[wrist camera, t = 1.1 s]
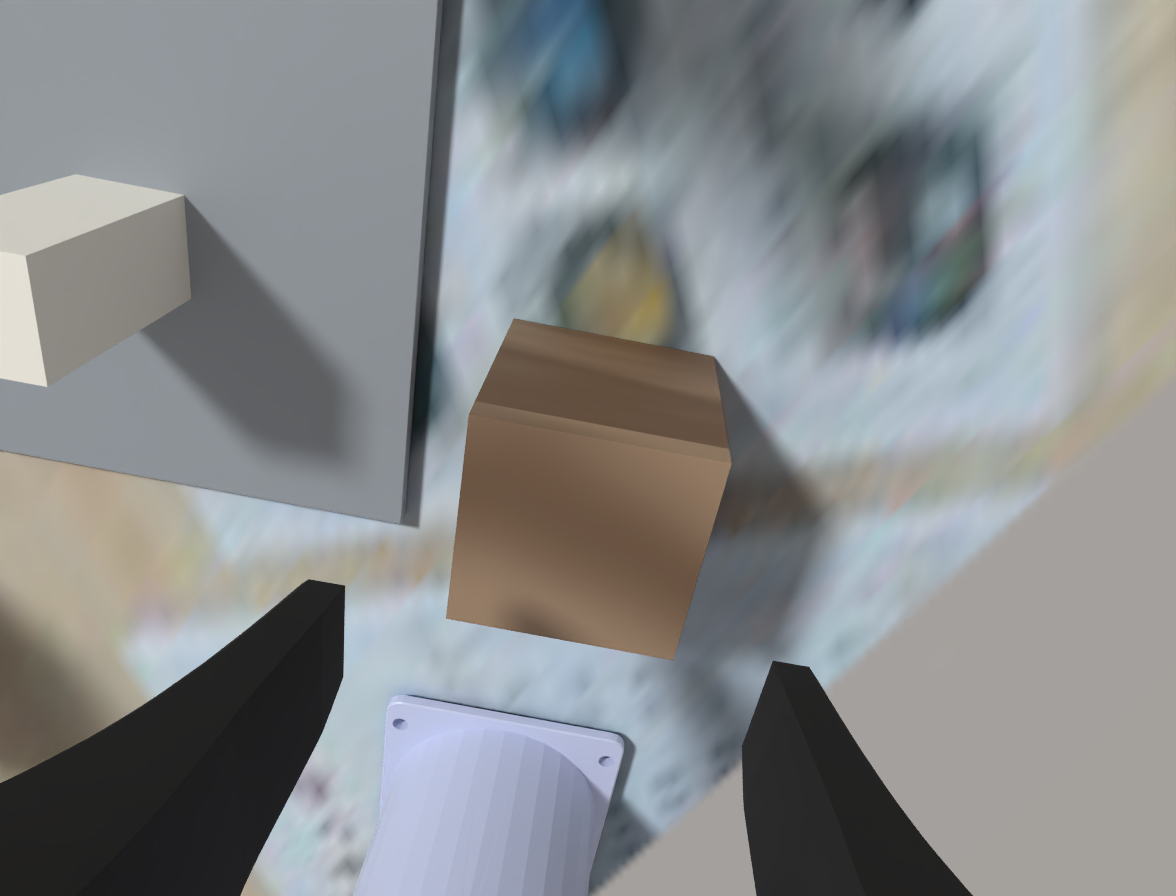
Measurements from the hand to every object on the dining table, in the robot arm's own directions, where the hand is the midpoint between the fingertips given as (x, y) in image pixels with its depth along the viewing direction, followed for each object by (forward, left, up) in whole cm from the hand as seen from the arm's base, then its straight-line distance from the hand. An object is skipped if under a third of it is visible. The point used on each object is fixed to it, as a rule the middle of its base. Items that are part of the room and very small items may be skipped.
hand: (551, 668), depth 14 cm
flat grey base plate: (+3, +12, -9) cm, 15 cm away
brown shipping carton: (0, 0, -9) cm, 9 cm away
